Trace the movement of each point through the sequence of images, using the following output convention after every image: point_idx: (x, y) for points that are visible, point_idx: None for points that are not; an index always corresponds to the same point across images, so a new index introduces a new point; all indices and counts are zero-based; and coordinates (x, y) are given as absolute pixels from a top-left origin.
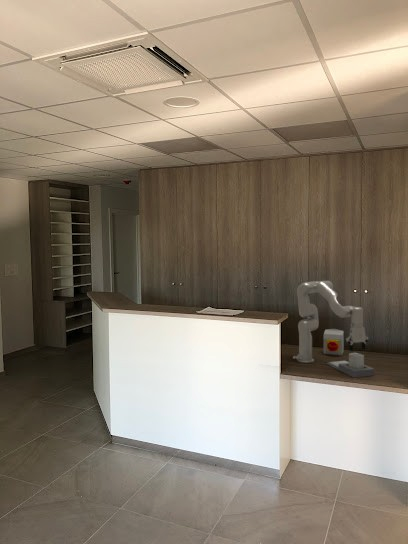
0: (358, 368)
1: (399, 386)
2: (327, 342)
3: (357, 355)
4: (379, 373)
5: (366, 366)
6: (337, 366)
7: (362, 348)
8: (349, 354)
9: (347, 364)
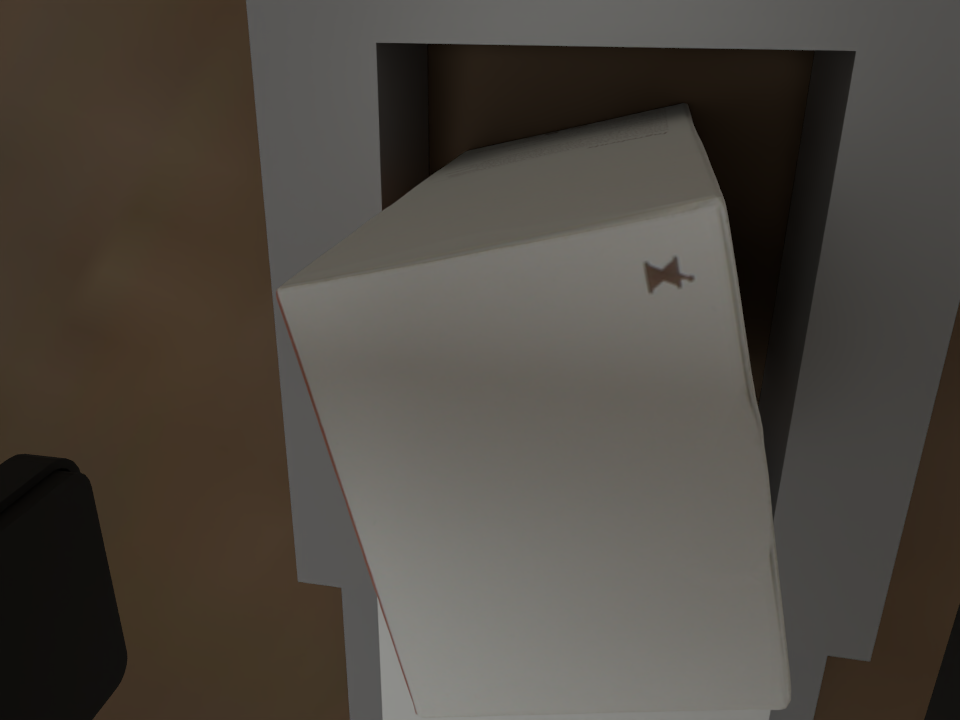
0: (661, 122)
1: None
2: None
3: (646, 320)
4: (120, 34)
5: (323, 204)
6: None
7: (90, 629)
8: (787, 657)
9: None
